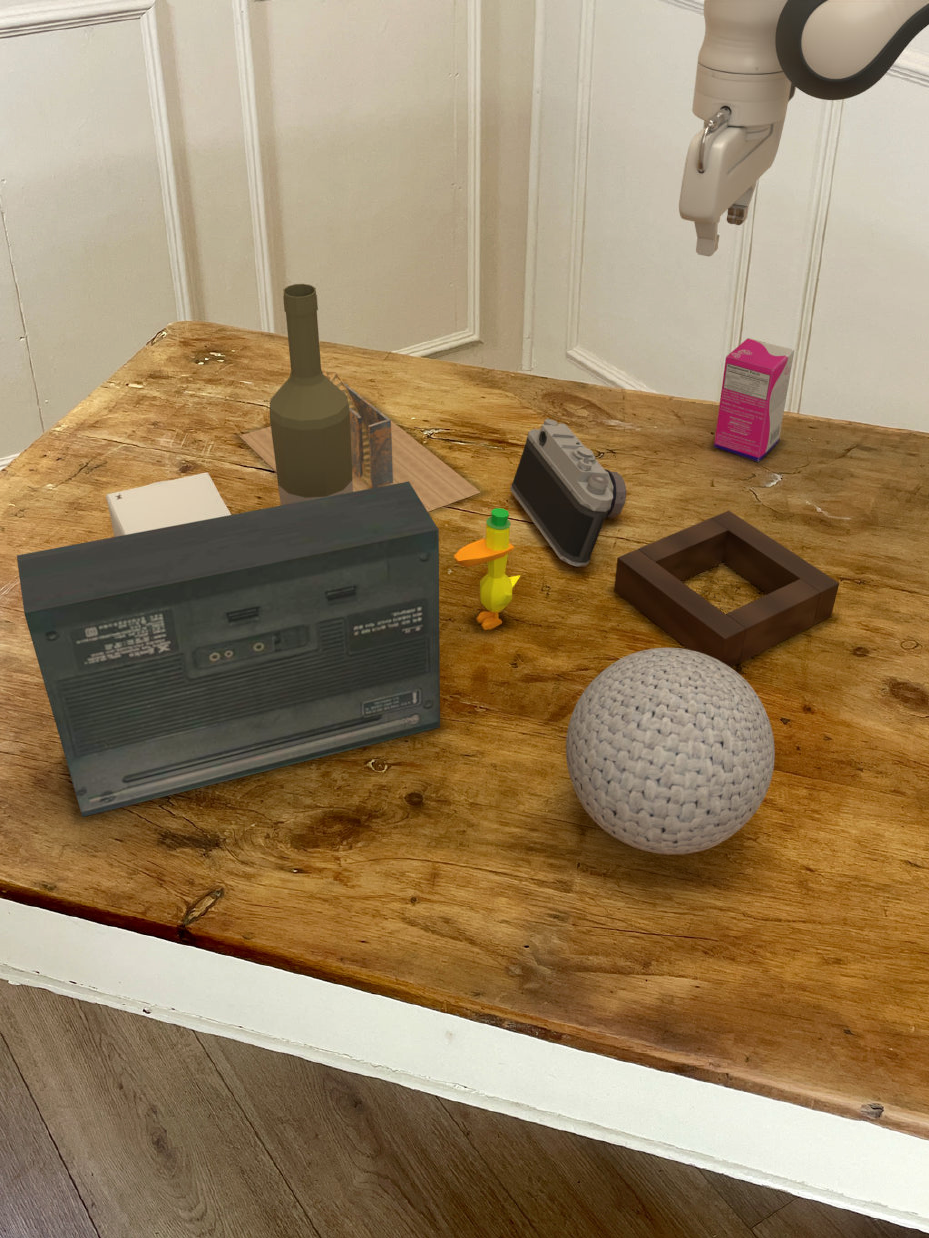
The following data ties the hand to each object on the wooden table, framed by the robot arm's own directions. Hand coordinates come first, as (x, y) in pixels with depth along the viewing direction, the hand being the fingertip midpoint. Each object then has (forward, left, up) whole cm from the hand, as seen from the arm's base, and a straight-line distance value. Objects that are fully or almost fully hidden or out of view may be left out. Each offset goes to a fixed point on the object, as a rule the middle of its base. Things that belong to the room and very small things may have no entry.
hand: (721, 237), depth 122 cm
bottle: (+49, +1, -24) cm, 54 cm away
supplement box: (-4, +4, -24) cm, 25 cm away
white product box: (+63, +2, -24) cm, 67 cm away
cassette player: (+63, +17, -24) cm, 70 cm away
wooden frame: (+19, +24, -24) cm, 39 cm away
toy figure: (+39, +14, -24) cm, 48 cm away
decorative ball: (+42, +41, -24) cm, 63 cm away
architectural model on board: (+35, -17, -24) cm, 45 cm away
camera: (+22, +6, -24) cm, 33 cm away
